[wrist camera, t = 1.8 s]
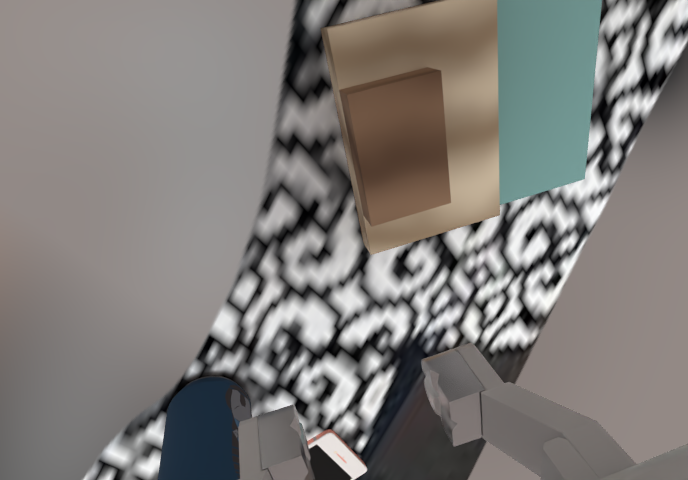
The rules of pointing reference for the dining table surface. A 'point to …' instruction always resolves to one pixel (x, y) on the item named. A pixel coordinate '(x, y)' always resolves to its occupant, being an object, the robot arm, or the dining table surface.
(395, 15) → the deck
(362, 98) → the tile
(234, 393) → the soda can
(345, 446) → the cell phone
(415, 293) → the dining table surface
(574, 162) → the mat
